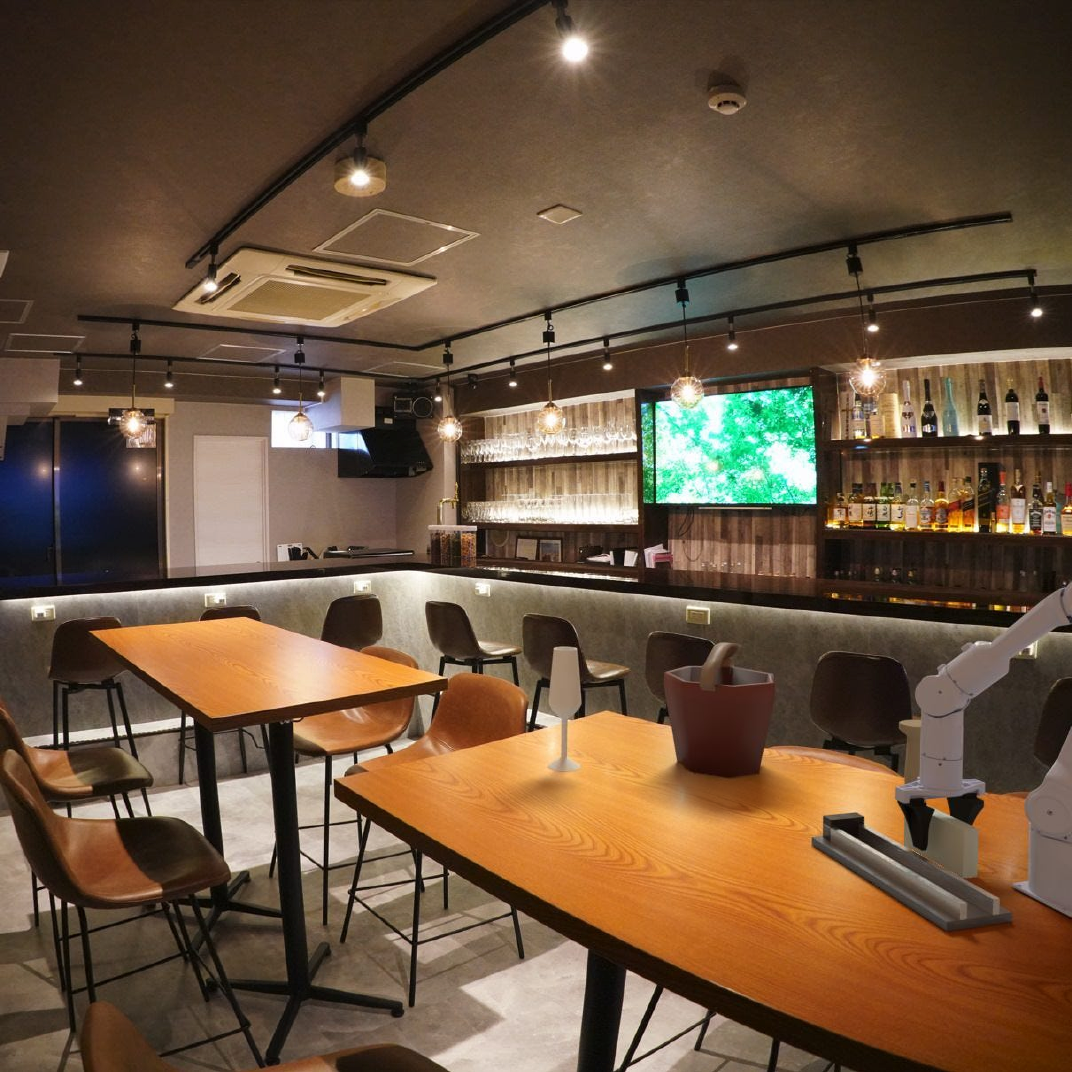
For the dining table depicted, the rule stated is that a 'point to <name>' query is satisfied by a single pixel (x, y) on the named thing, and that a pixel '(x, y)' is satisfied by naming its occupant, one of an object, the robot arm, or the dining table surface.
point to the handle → (912, 749)
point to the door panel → (949, 844)
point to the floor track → (908, 875)
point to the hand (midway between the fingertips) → (939, 845)
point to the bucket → (719, 714)
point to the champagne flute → (564, 698)
